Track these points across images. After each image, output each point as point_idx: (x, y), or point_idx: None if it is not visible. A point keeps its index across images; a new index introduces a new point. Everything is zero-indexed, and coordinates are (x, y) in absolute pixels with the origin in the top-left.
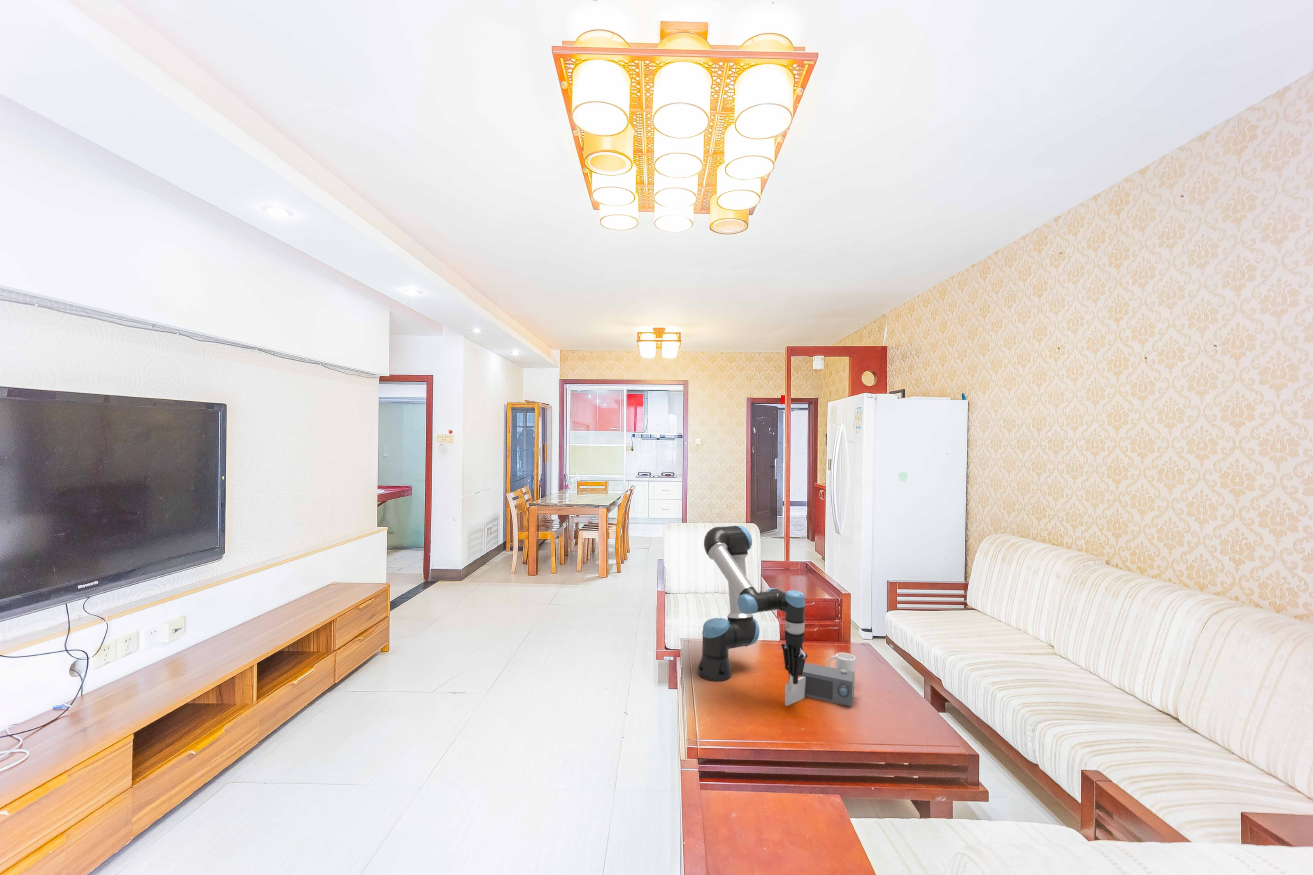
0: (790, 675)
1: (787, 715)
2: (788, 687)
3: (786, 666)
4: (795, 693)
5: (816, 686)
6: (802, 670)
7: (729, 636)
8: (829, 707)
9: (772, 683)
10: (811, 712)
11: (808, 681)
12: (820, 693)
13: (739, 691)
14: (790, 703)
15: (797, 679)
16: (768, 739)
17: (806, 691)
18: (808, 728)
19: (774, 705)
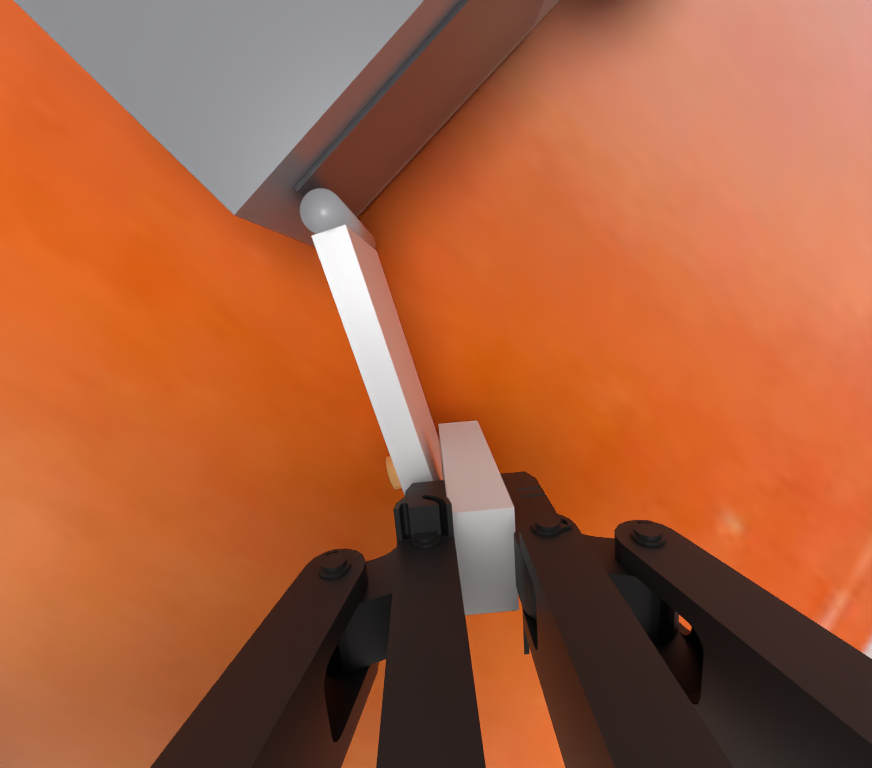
0: (477, 601)
1: None
2: None
3: (355, 706)
4: (414, 380)
5: (422, 102)
6: (767, 608)
7: None
8: (584, 135)
9: (60, 357)
10: (590, 340)
11: (351, 164)
12: (453, 97)
13: (155, 657)
14: (432, 422)
15: (547, 507)
16: None
17: (355, 206)
18: (745, 491)
19: None
